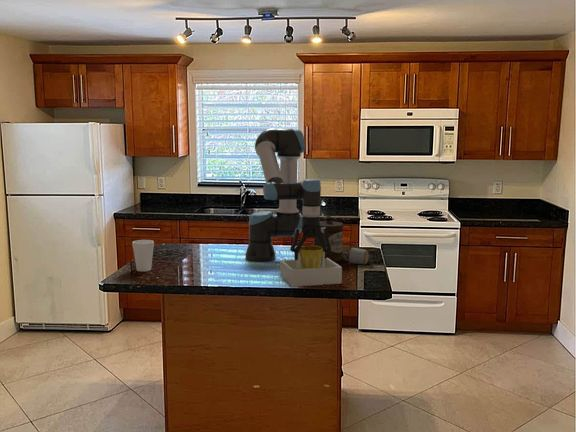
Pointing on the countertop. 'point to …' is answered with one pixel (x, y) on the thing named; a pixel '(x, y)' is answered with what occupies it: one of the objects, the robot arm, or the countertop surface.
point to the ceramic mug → (358, 256)
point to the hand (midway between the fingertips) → (310, 266)
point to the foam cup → (143, 254)
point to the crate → (310, 273)
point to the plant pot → (310, 256)
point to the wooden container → (332, 238)
